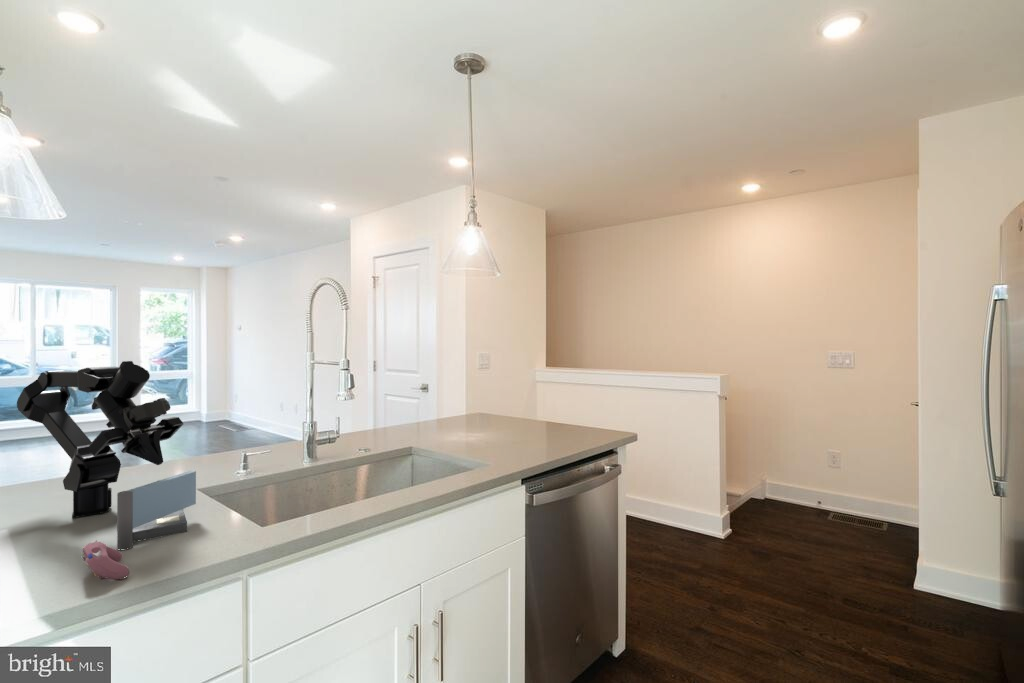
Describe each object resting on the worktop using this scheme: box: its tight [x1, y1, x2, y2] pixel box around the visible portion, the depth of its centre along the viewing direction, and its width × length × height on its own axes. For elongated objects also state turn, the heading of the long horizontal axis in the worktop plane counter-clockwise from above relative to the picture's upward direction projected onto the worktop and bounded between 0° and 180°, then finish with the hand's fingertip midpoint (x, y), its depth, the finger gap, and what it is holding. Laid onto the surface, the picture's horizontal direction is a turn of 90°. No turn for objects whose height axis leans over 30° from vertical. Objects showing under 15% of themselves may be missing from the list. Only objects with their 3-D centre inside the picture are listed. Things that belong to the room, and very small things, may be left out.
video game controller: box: [81, 539, 131, 580], centre depth 88 cm, size 10×5×7 cm, turn 45°
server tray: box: [133, 509, 188, 542], centre depth 111 cm, size 11×18×2 cm, turn 37°
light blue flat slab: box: [116, 470, 197, 551], centre depth 106 cm, size 17×2×11 cm, turn 167°
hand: (160, 463), depth 112 cm, fingers closed
